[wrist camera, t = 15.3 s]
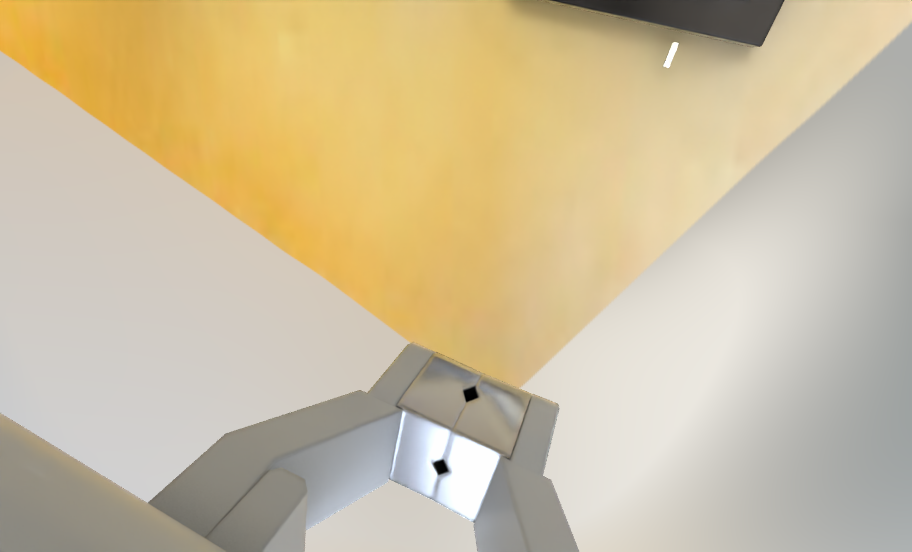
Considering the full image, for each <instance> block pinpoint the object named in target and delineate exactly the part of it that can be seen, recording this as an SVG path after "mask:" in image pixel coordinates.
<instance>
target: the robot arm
mask: <svg viewBox="0 0 912 552" xmlns="http://www.w3.org/2000/svg"><path fill="white" fill-rule="evenodd" d="M558 412H559V405H558V404H557V403H554V402H552V401H549V400H547V399H544V398H542V397H540V396H537V395H535V394H532V396H531V393H529V392H527V391H524V390H522V389H519V388H517V387H515V386H512V385H510V384H508V383H505V382H503V381H500V380H498V379H496V378H493V377H491V376H489V375H486V374H484V373H481V372H479V371H477V370H475V369H473V368H470V367H468V366H466V365H464V364H462V363H459V362H457V361H455V360H453V359H451V358H449V357H446V356H444V355H442V354H440V353H438V352H434V351H432V350H430V349H428V348H425V347H423V346H421V345H419V344H417V343H415V342H412V343H410V344H408V345H407V346H406V347H405V348H404V350H403V351H402V352H401V353H400V354H399V356H398V357H397V358H396V359H395V360H394V362H393V363H392V364H391V365H390V366H389V368H388V369H387V370H386V371H385V372H384V374H383V375H382V376H381V377H380V378H379V380H378V381H377V382H376V383H375V384H374V386H373V387H372V388H371V389H370V391H368V393H366V392H363V391H361V390H359V391H355V392H352V393H349V394H347V395H343V396H340V397H337V398H334V399H331V400H328V401H325V402H322V403H319V404H315V405H313V406H309V407H306V408H303V409H300V410H297V411H294V412H291V413H288V414H285V415H282V416H279V417H275V418H272V419H269V420H266V421H263V422H260V423H257V424H254V425H251V426H248V427H245V428H242V429H238V430H236V431H233V432H229V433H226V434H225V435H224V436H223V437H221V438H220V439H219V440H218V441H217V442H216V443H215V444H214V445H213V446H211V447H210V448H209V449H208V450H207V451H206V452H204V453H203V454H202V455H201V456H200V457H199V458H198V459H197V460H195V461H194V463H192V464H191V465H190V466H189V467H188V468H186V469H185V470H184V471H183V472H182V473H181V474H180V475H179V476H178V477H176V478H175V479H174V480H173V481H172V482H171V483H170V484H169V485H167V486H166V487H165V488H164V489H163V490H162V491H161V492H159V493H158V494H157V495H156V496H155V497H154V498H153V499H152V500H150V501H149V502H148V503H147V502H145V501H143V500H141V499H140V498H138V497H137V496H135V495H134V494H132V493H130V492H129V491H127V490H125V489H124V488H122V487H120V486H119V485H117V484H116V483H114V482H112V481H111V480H109V479H107V478H106V477H104V476H102V475H101V474H99V473H98V472H96V471H94V470H93V469H91V468H89V467H88V466H86V465H85V464H83V463H81V462H80V461H78V460H76V459H74V458H73V457H71V456H70V455H68V454H66V453H65V452H63V451H62V450H60V449H58V448H57V447H55V446H53V445H52V444H50V443H49V442H47V441H45V440H44V439H42V438H40V437H39V436H37V435H35V434H34V433H32V432H31V431H29V430H27V429H25V428H24V427H22V426H21V425H19V424H18V423H16V422H14V421H13V420H11V419H9V418H8V417H6V416H4V415H3V414H1V413H0V552H304V550H305V532H306V530H307V529H309V528H311V527H312V526H314V525H316V524H318V523H319V522H321V521H323V520H325V519H326V518H328V517H330V516H331V515H333V514H335V513H336V512H338V511H340V510H341V509H343V508H345V507H346V506H348V505H350V504H352V503H353V502H355V501H357V500H358V499H360V498H362V497H363V496H365V495H367V494H368V493H370V492H372V491H374V490H375V489H377V488H379V487H380V486H382V485H384V484H385V483H387V482H388V479H390V480H392V481H394V482H396V483H398V484H401V485H402V486H405V487H407V488H409V489H411V490H413V491H415V492H417V493H419V494H421V495H423V496H426V497H428V498H430V499H432V500H434V501H435V502H437V503H439V504H441V505H443V506H444V507H446V508H448V509H450V510H452V511H454V512H455V513H457V514H459V515H461V516H463V517H465V518H467V519H468V520H470V521H472V522H474V531H475V538H476V544H477V551H478V552H579V550H578V547H577V545H576V542H575V539H574V537H573V534H572V532H571V529H570V527H569V525H568V522H567V519H566V516H565V514H564V511H563V509H562V507H561V504H560V501H559V499H558V496H557V493H556V491H555V489H554V486H553V483H552V481H551V480H550V479H548V478H546V477H544V476H543V473H544V469H545V465H546V461H547V456H548V452H549V448H550V444H551V440H552V436H553V432H554V428H555V424H556V420H557V415H558Z"/></svg>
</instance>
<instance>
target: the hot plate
mask: <svg viewBox="0 0 912 552" xmlns="http://www.w3.org/2000/svg"><path fill="white" fill-rule="evenodd" d="M539 1H544V2H548V3H553V4H557V5H562V6H566V7H571V8H575V9H580V10H584V11H589V12H593V13H598V14H602V15H607V16H612V17H616V18H621V19H625V20H630V21H634V22H639V23H643V24H648V25H652V26H657V27H661V28H666V29H670V30H675V31H679V32H684V33H689V34H693V35H698V36H702V37H707V38H711V39H716V40H720V41H725V42H729V43H734V44H738V45H743V46H747V47H760V46H762V44H763V42H764V40H765V38H766V36H767V34H768V32H769V30H770V28H771V26H772V24H773V22H774V20H775V18H776V16H777V14H778V12H779V10H780V8H781V6H782V4H783V2H784V0H753V1H751V2H747V1H744V0H539ZM678 45H679V43H677V42H673V43H672V45H671V48H670V50H669V53H668V55H667V58H666V60H665V63H664V65H663V67H666V68H669V67H670V64H671V62H672V59H673V57H674V54H675V52H676V50H677V47H678Z"/></svg>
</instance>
